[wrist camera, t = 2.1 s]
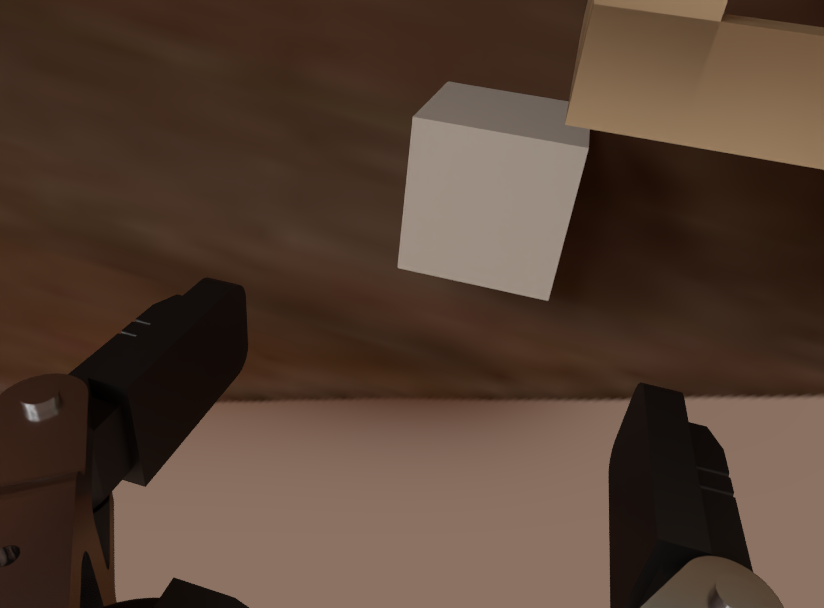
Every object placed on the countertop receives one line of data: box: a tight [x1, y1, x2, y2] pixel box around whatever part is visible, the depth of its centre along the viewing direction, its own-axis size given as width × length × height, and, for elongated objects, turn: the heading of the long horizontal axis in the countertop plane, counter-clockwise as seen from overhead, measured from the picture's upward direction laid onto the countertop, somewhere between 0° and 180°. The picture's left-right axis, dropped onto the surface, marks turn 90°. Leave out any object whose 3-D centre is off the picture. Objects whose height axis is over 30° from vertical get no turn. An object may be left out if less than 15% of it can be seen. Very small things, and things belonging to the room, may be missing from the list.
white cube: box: [398, 82, 590, 301], centre depth 21 cm, size 5×5×5 cm
